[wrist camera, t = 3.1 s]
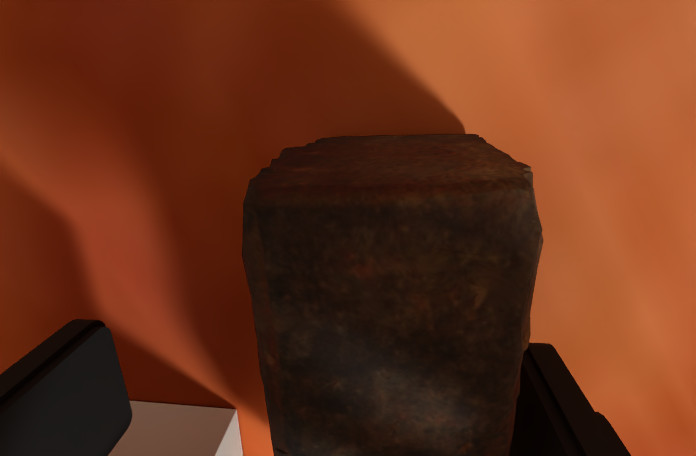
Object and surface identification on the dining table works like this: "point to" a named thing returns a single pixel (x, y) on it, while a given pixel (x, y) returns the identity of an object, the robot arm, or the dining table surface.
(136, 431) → the step
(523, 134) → the dining table surface
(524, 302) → the brick
